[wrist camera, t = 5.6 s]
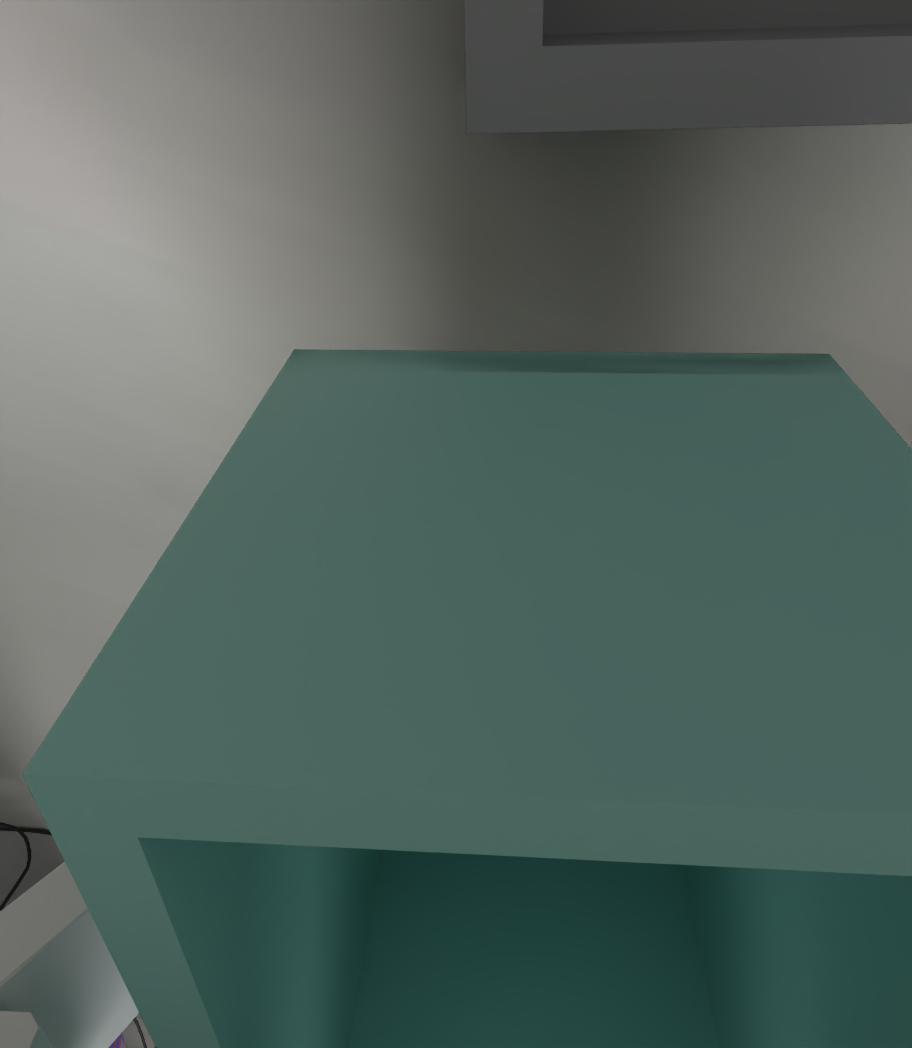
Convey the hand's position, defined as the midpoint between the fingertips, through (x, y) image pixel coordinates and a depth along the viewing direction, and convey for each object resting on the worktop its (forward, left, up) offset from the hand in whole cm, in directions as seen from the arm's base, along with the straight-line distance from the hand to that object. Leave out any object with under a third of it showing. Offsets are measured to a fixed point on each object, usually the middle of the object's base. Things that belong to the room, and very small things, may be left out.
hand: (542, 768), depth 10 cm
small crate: (0, 0, -2) cm, 2 cm away
